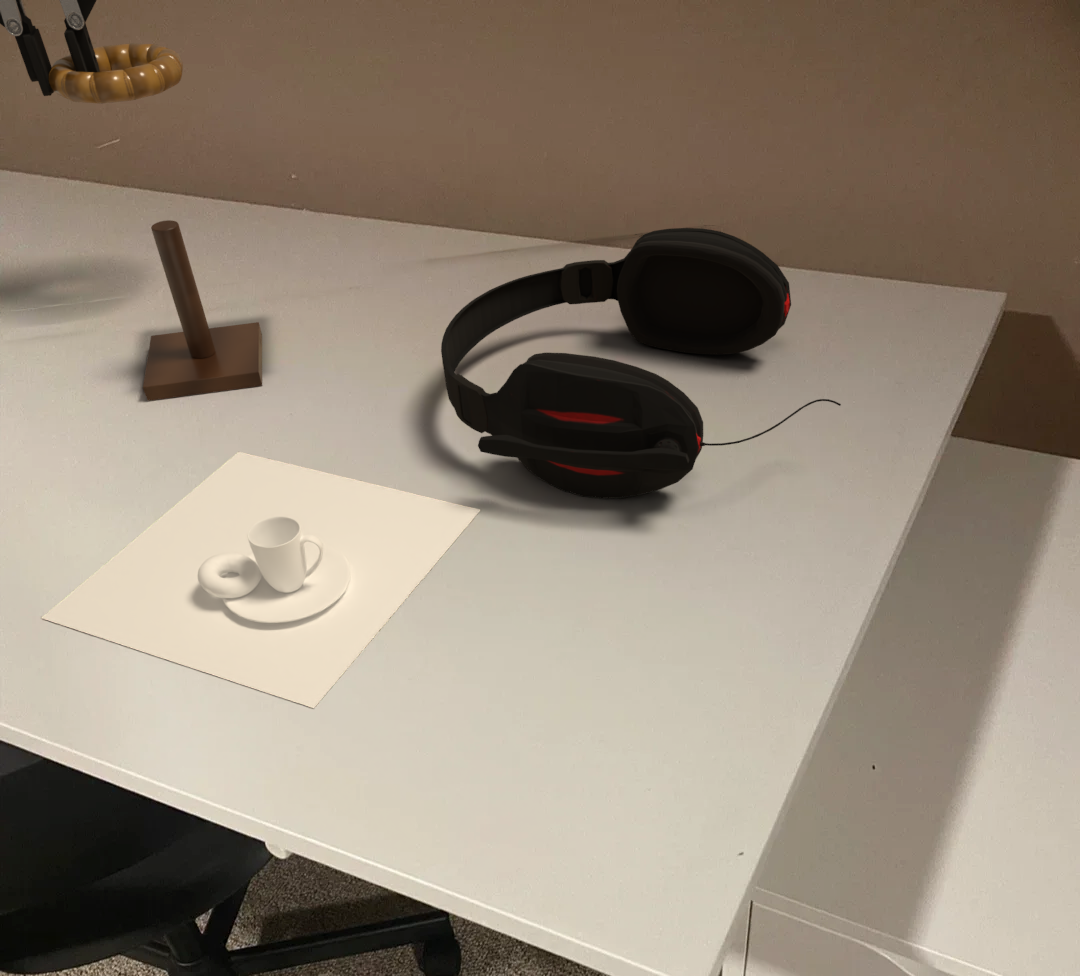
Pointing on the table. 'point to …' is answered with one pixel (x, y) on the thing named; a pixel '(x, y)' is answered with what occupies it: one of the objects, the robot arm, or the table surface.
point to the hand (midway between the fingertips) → (69, 86)
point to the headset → (610, 386)
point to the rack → (196, 336)
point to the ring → (118, 74)
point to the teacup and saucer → (267, 575)
